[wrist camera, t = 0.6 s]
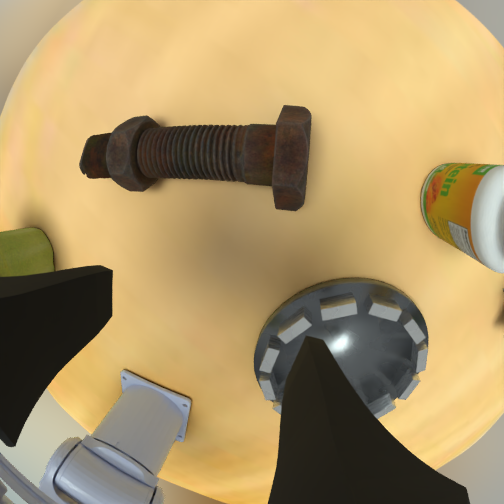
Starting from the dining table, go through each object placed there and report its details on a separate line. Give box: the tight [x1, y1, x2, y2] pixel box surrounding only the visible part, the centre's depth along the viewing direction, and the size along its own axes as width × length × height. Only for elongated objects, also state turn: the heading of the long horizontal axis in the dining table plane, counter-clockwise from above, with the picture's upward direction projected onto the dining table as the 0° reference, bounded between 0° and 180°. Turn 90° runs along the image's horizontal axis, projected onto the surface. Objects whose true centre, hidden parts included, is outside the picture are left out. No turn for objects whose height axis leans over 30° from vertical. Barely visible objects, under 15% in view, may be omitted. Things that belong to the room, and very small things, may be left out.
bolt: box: [79, 105, 311, 211], centre depth 15 cm, size 6×5×15 cm
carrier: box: [254, 278, 428, 419], centre depth 18 cm, size 14×14×2 cm
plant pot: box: [0, 227, 55, 277], centre depth 18 cm, size 9×9×9 cm
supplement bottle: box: [421, 163, 504, 273], centre depth 10 cm, size 5×5×10 cm
